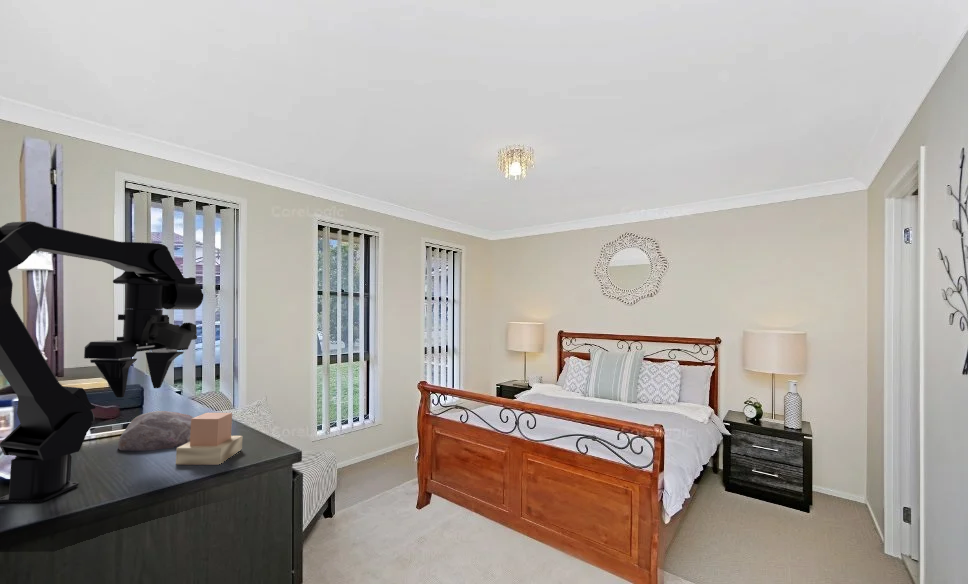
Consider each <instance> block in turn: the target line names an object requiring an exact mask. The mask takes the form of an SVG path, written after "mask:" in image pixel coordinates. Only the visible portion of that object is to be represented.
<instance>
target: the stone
mask: <svg viewBox="0 0 969 584" xmlns="http://www.w3.org/2000/svg"><path fill="white" fill-rule="evenodd" d="M192 418H195V417H193V416H192V415H189V414H186V413H180V412H175V411H168V410H167V411H166V410H159V411H158V410H156V411H149V412H145V413H142V414H139V415H137V416H136V417H135V418H133V419H132V420H131V421H130V422H129V423H128V425H127V427H126V428H125V430H124V431H123V432H122V433H121V435H120V436H119V438H118V445H117V448H118V450H120V451H136V452H137V451H154V450H161V449H162V450H163V449H173V448H178V447H180V446H182V445H184V444H186V443H188V442H190V433H191V419H192Z"/></svg>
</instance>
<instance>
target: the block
mask: <svg viewBox="0 0 969 584" xmlns="http://www.w3.org/2000/svg"><path fill="white" fill-rule="evenodd" d="M232 422H233V412H204V413H202V414H200V415H197V416H195V417H194V418H192V419H191V433H190V446H218V445H219V444H221V443H223V442H225V441H227V440H228V439H230V438H231V436H232V424H233V423H232Z"/></svg>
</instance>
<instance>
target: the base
mask: <svg viewBox="0 0 969 584" xmlns="http://www.w3.org/2000/svg"><path fill="white" fill-rule="evenodd" d="M241 449H242V450H243V435H231V438H230V439H228V440H227V441H225V442H223V443H221V444H219V445H218V446H190V442H188V443H186V444H184V445H182V446H180V447H176V452H175V465H181V466H182V465H189V466H190V465H201V466H203V465H205V466H206V465H211V466H212V465H219V464H220V465H222V464H224V463H225V462H227V461H228V460H229V459H228V458H230V457H231V456H233V455H234V454H236V453H237V452H238V451H240V450H241ZM237 454H238V453H237ZM237 454H236V455H237ZM234 456H235V455H234ZM234 456H233V457H234ZM231 458H232V457H231ZM231 458H230V459H231ZM227 459H228V460H227ZM226 460H227V461H226ZM224 461H225V462H224ZM221 463H222V464H221Z"/></svg>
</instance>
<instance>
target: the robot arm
mask: <svg viewBox="0 0 969 584" xmlns="http://www.w3.org/2000/svg"><path fill="white" fill-rule="evenodd" d="M35 251H37V252H43V253H49V254H53V255H54V254H56V255H61V256H67V257H74V258H78V259H85V260H91V261H97V262H101V263H106V264H108V265H110V266H112V267H113V268H116V269H119V270H121V271H123V273H122V274H121V275H119V276H117V277H116V278H114V279H113V280H112V283H113V284H116V285H125V296H124V310H123V311H124V313H123V314H121V313H120V314H117V320H118V321H123V330H122V331H123V332H122V334H123V335H121V336H116V340H108V339H105V340H96V341H89V342H88V344H86V345H85V346H84V354H83V358H84V359H90V363H91V364H95V366H96V367H97V369H98V370H99V371H100V372H101V374H102V376H103V377H104V379H105V380H106V382H107V384H108V385H109V387H110V389H111V391H112V392H113V394H114V396H115V398H120V399H121V398H124V397H125V394H126V390H127V384H128V377H129V370H130V367H131V366H132V365H134V364H135V363H136V361H137V360H138V358H134V357H135V356H136V354H137V353H138V352H145V351H147V352H145V357H146V362H147V366H148V371H149V372H148V373H149V376H150V381H151V384H152V388H153V389H160V388H161V387H162V384H164V383H163V382H164V380H165V378H166V376H167V373H168V371H169V368H170V366H171V365H172V362H173V361H174V360H175V359H177V358H178V357H179V356H181V355H182V354H184V353H185V352H184V351H186V350H189V348H190V345H191V342H192V341H194V340H195V341H197V339H198V335H197V333H198V330H197V324H195V323H192V322H183V323H182V324H181V325H179V324H173V323H171V322H170V316H169V315H168V314H163V313H164V312H163V310H164V309H165V310H196V309H198V308H199V307H200V306H201V305H202V304H203V301H204V292H203V290H202V288H201V286H200V285H199V284H197V277H192V276H191V277H190V276H189V277H188V276H187V277H185V276H184V275H183V274H182V272H181V270H180V268H179V267H178V265H177V263H176V261H175V260H174V258H173V257H172V255H171V251H170V250H169V247H168V246H166V245H165V244H163V243H159V242H158V243H157V242H139V241H138V242H136V241H135V242H134V241H133V242H132V241H117V240H113V239H108V238H105V237H99V236H94V235H89V234H86V233H81V232H76V231H71V230H67V229H62V228H58V227H53V226H48V225H44V224H42V223H40V222H38V221H28V220H27V221H11V222H7V223H6V224H4V225H2V226H0V372H1V373H2V374H3V377H5V379H6V381H7V382H8V384H9V385H10V387H11V389H12V390H13V392H14V393H15V394H16V396H17V400H18V401H17V408H16V409H17V411H16V415H17V419H18V421H19V423H20V424H18V426H17V427H16V428H15V429H14V430H12V431H11V432H10V433H9V434H8V435H7V436H6V437H5V438H4V439H3V440H2V441H1V442H0V448H1V452H2V454H3V455H4V456H14V457H15V458H13V459H11V460H10V472H9V473H10V475H9V486H8V487H9V490H8V494H5V495H4V496H0V503H43V502H45V501H47V500H50V499H52V498H54V497H57V496H59V495H61V494H62V493H65V492H67V491H70V490H72V489H74V488H77V487H78V486H79V485H80V484H79V481H71V477H72V476H71V473H72V471H71V470H72V455H71V454H75V453H78V452H80V450H81V448H82V446H83V443H84V441H85V438H86V437H87V433H88V432H89V430H90V429H91V427H92V424H93V423H94V422H95V414H94V411H93V410H94V409H96V406H95V405H93V404H92V403H91V401H90V400H89V398H88V395H87V392H86V391H85V389H84V388H82V387H78V386H77V387H75V386H63V385H62V384H61V383H60V382H59V380H58V378H57V377H56V375H55V373H54V371H53V370H52V369H51V367H50V365H49V364H48V362H47V361H46V358H45V357H44V354H42V352H41V351H40V349H39V346H37V343H36V342H35V340H34V338H33V337H32V335H31V334H30V332H29V331H28V329H27V327H26V326H25V324H24V322H23V319H21V317H20V316H19V314H18V312H17V310H16V309H15V307H14V305H13V303H12V300H13V297H12V296H13V287H14V285H13V281H12V278H11V274H10V272H9V271H11V270H13V269H14V268H16V267H17V266H19V265H21V264H23V263H24V262H26V260H27V259H28V258H29V257H31V255H32V254H33V253H35Z"/></svg>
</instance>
